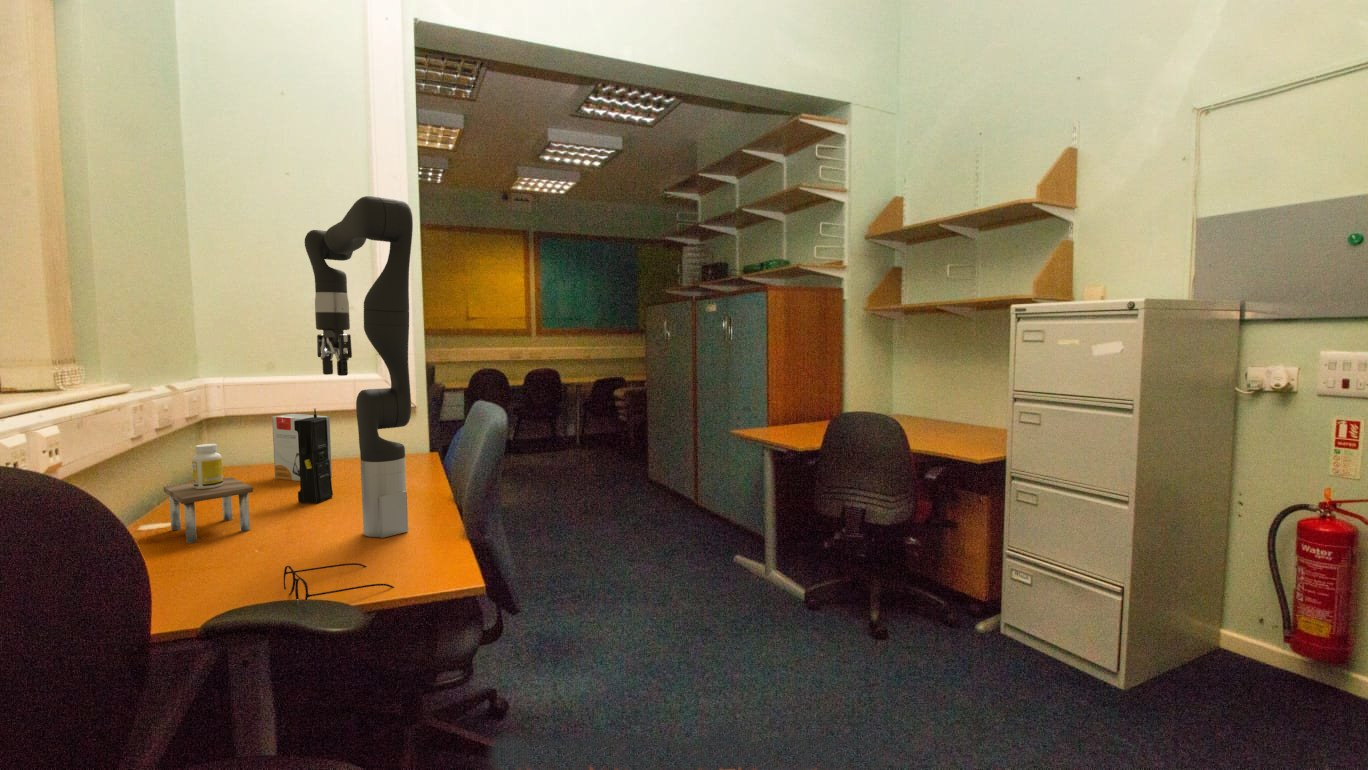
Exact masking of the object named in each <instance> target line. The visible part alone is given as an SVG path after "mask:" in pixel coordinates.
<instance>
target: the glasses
mask: <svg viewBox="0 0 1368 770" xmlns="http://www.w3.org/2000/svg"><path fill="white" fill-rule="evenodd" d="M344 566H361V567H363V568H367V567H368V566H366V565H365V564H362V563H356V562H355V563H353V562H352V563H348V562H347V563H340V564H333V565H325V566H320V567H311V568H307V569H306V568H305V569H300V570H294V569H293V568H292V566H291V565H285V567H284V570H283V590H285V591H286V590H287V588H286V575H287V574H292V586H291V589H290V592H289V593H288V596H289V595H292V594H293V593H294V591H295V600H296V599H299V600H300V598H299V581H301V582H302V584H303V585H304V590H305V598H304V599H305V600H307V601H308V599H309V598H310V597H317V596H322V595H323V596H324V595H329V594H333V593H339V592H341V593H342V592H346V591H351V590H357V589H363V588H369V587H380V586H381V587H382V586H383V587H384V586H385V587H389V588H392V589H394V588H395V586H394V585H391V584H388V583H375V584H374V583H372V584H364V585H359V586H354V587H352V586H351V587H348V588H346V587H345V588H343V589H341V588H340V589H336V590H329V591H323V592H320V593H312V594H309V592H308V591H309V587H308V586H309V585H308V583H307V582H306V580H304V578H302V577H301V576H299V575H298V574H297V573H303V572H309V571H316V570H322V569H327V568H335V567H344ZM287 569H289V570H290V571H287ZM296 577H297V578H296ZM305 600H304V601H305Z"/></svg>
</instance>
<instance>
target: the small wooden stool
mask: <svg viewBox="0 0 1368 770" xmlns="http://www.w3.org/2000/svg"><path fill="white" fill-rule="evenodd" d="M163 493H165V494H166V495H167V496H168V497H169V498H168V500H169V513H170V514H169V515H170V529H171V530H177V531H181V530H182V518H181V504H182V505H183V509H184V510H183V512H184V527H185V541H186V542H185V543H186V544H193V543H195V542H198V539H197V525H196V524H197V522H196V507H195V506H196V505H195V503H198V502H204V501H209V500H215V499H221V500H222V501H221V502H222V503H221V504H222V515H223V517H222V518H223V519H222V520H223V521H225V522H227V521H228V522H229V521H232V520H233V503H232V502H233V501H232V497H234V496H238V507H239V508H238V509H239V527H240V529H239V530H240V532H241V533H243V532H249V531H251V521H250V518H251V517H250V503H249V494H250V493H254V488H253V486H251V485H249V484H247V483H245V482H243V481H240V480H239V479H237V478H235V477H232V476H228V477H223V485H221V486H219V487H216V488H210V489H195V488H194V483H193V482H187V483H181V484H174V485H168V486H167V485H166V486H163ZM180 529H181V530H180Z"/></svg>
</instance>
